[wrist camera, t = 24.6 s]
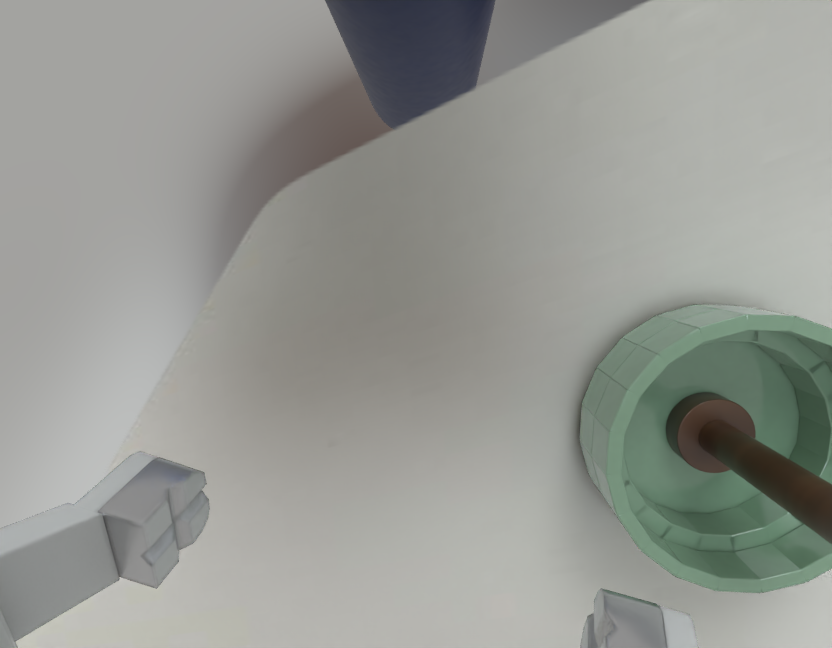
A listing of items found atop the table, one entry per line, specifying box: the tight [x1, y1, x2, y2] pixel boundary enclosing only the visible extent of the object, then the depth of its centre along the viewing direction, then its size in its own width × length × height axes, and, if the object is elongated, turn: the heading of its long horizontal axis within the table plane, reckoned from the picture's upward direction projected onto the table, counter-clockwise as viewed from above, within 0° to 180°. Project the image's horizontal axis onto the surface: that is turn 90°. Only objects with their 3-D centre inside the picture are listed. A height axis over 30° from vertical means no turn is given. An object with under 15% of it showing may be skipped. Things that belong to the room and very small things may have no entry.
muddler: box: [666, 392, 832, 544], centre depth 24 cm, size 4×4×17 cm
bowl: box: [580, 304, 832, 593], centre depth 30 cm, size 15×15×6 cm
